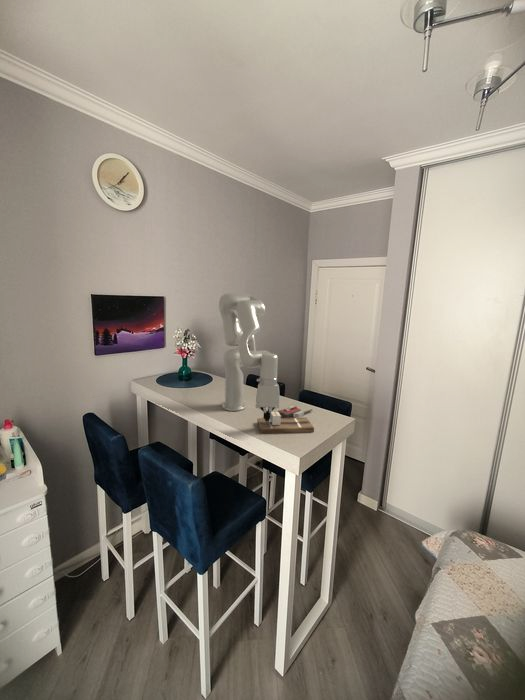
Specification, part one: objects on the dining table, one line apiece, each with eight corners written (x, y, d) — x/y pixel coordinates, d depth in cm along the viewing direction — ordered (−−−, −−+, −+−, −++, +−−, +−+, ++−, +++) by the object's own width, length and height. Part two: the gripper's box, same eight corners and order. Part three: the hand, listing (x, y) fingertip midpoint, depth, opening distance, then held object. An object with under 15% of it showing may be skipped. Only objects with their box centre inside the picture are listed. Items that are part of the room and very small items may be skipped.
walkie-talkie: (287, 422, 149) (313, 413, 162) (287, 413, 148) (314, 405, 161) (274, 416, 155) (301, 408, 168) (275, 408, 154) (301, 400, 168)
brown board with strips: (257, 422, 146) (257, 418, 146) (306, 421, 150) (306, 417, 149) (260, 433, 134) (260, 429, 134) (313, 432, 138) (314, 427, 137)
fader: (270, 420, 143) (270, 411, 142) (278, 420, 144) (278, 411, 143) (272, 425, 138) (272, 415, 137) (280, 424, 139) (280, 415, 138)
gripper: (252, 383, 132) (251, 423, 135) (286, 383, 134) (284, 423, 137) (250, 379, 139) (249, 417, 143) (283, 379, 142) (281, 416, 145)
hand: (266, 420), depth 140 cm, fingers closed
